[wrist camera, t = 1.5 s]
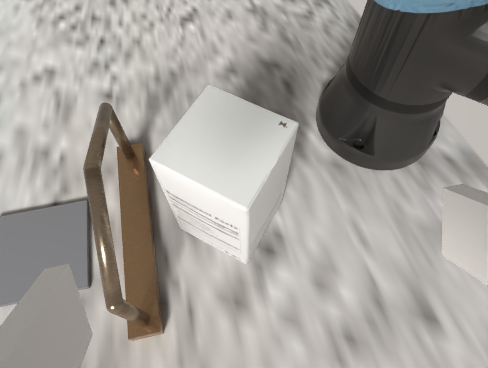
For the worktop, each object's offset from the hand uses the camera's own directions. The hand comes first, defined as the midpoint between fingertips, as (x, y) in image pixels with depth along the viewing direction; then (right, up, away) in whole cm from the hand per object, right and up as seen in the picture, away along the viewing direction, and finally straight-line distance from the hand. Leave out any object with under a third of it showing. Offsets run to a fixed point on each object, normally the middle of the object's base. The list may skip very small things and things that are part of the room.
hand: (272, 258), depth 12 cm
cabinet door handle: (-13, -3, +27) cm, 30 cm away
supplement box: (-2, -1, +28) cm, 28 cm away
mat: (-23, -5, +26) cm, 35 cm away
